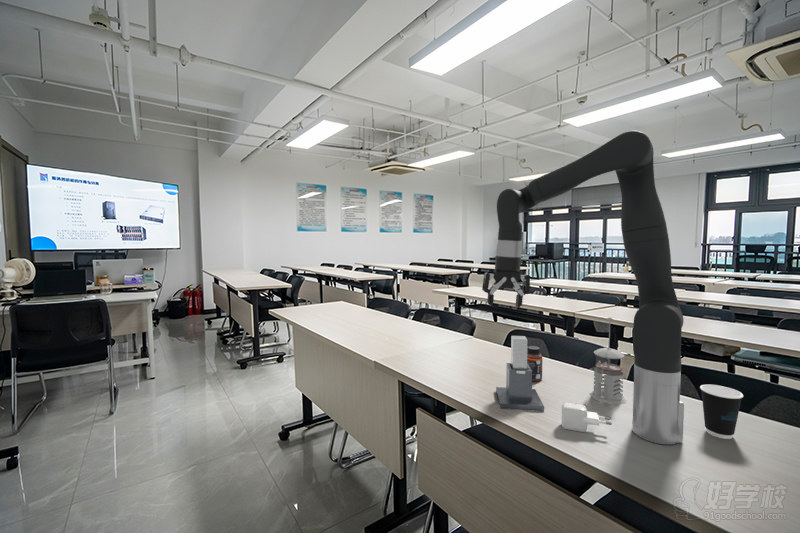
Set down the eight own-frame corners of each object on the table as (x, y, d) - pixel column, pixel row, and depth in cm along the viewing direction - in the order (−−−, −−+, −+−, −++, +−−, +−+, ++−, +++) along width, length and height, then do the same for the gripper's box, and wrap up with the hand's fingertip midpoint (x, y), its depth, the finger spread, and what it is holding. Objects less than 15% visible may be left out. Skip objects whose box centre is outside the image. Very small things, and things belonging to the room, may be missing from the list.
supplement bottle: (543, 382, 121) (544, 350, 120) (525, 381, 122) (525, 349, 121) (540, 376, 127) (540, 345, 126) (523, 375, 128) (523, 344, 127)
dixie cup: (705, 422, 93) (706, 381, 92) (746, 436, 86) (748, 392, 86) (692, 431, 89) (694, 388, 88) (734, 446, 82) (737, 400, 81)
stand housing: (535, 393, 112) (535, 361, 111) (543, 411, 100) (544, 375, 99) (496, 391, 114) (496, 359, 113) (500, 408, 102) (500, 373, 101)
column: (524, 392, 109) (525, 336, 108) (527, 398, 104) (527, 339, 103) (510, 392, 109) (510, 335, 108) (512, 397, 105) (513, 339, 104)
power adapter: (609, 429, 90) (609, 407, 90) (612, 439, 85) (612, 415, 85) (561, 421, 94) (561, 400, 94) (561, 430, 90) (562, 407, 89)
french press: (631, 398, 108) (634, 317, 106) (615, 409, 101) (618, 323, 99) (598, 388, 116) (600, 313, 114) (581, 397, 109) (582, 317, 107)
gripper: (489, 254, 105) (485, 308, 107) (536, 257, 105) (531, 310, 107) (482, 253, 113) (479, 303, 114) (526, 255, 113) (522, 305, 115)
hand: (504, 306), depth 111 cm, fingers open, 8 cm apart
